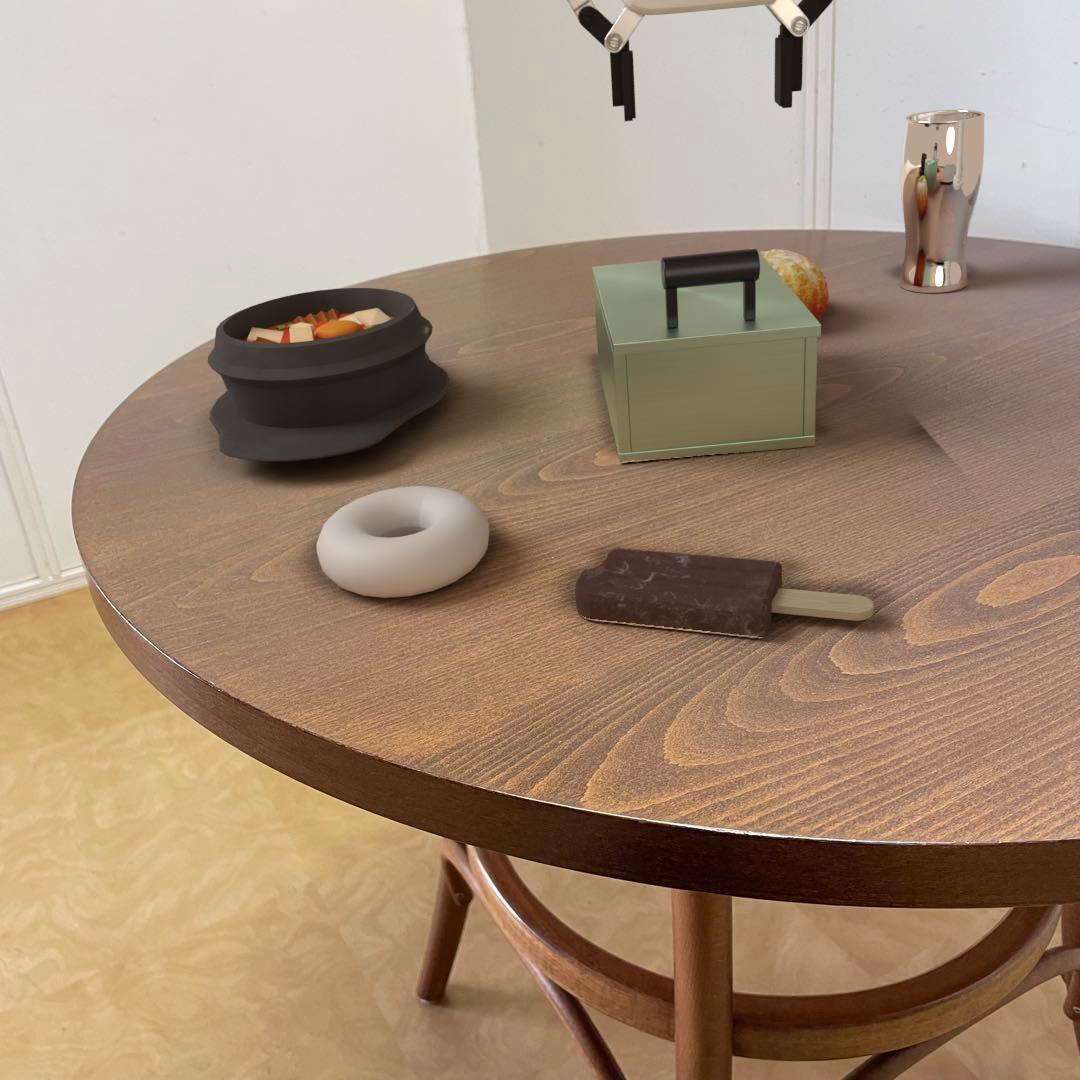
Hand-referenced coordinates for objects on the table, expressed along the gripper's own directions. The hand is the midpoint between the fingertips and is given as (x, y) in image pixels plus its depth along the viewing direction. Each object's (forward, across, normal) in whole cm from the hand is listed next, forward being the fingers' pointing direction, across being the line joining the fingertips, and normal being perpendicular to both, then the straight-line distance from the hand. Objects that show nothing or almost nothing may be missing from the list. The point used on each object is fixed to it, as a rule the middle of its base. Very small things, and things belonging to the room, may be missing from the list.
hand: (706, 111), depth 71 cm
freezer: (+21, +1, -3) cm, 21 cm away
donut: (+21, +19, +19) cm, 34 cm away
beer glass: (+21, -23, -30) cm, 44 cm away
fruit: (+21, -6, -22) cm, 31 cm away
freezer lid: (+13, +1, -3) cm, 13 cm away
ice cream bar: (+21, +1, +26) cm, 33 cm away
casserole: (+21, +29, -5) cm, 36 cm away
